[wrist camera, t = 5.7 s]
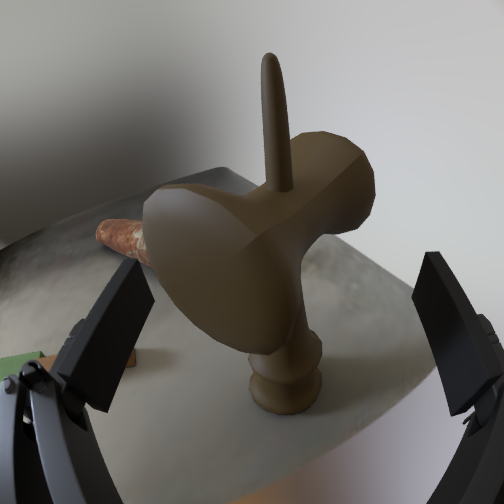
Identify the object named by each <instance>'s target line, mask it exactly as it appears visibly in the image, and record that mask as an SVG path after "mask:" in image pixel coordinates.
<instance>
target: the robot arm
mask: <svg viewBox="0 0 504 504" xmlns="http://www.w3.org/2000/svg"><path fill="white" fill-rule="evenodd" d="M411 298H412V300H413V302H414V305H415V307H416V310H417V312H418V315H419V317H420V320H421V322H422V325H423V328H424V330H425V333H426V336H427V338H428V341H429V344H430V347H431V350H432V353H433V356H434V359H435V362H436V365H437V368H438V371H439V374H440V378H441V381H442V384H443V388H444V392H445V395H446V399H447V403H448V407H449V411H450V415H451V416H455V415H458V414H461V413H465V412H467V410H468V409H470V408H471V407H472V406H473V405H474V408H475V411H474V412H473V413H472V414H471V415H470V416H469V417H467V418H466V419H465V420H464V422H463V424H466V423H467V422H468V421H469V420H470V421H469V423H468V425H467V428H466V430H465V433H464V435H463V437H462V440H461V442H460V444H459V446H458V448H457V450H456V453H455V455H454V457H453V459H452V460H451V462H450V464H449V466H448V468H447V470H446V472H445V474H444V475H443V477H442V479H441V481H440V482H439V484H438V486H437V488H436V489H435V491H434V492H433V494H432V496H431V498H430V499H429V501H428V502H427V503H426V504H504V349H503V347H502V345H501V343H499V339H498V337H497V335H496V334H495V331H494V329H493V327H492V325H491V323H490V321H489V320H488V319H487V318H486V317H485V316H484V315H483V314H478V315H477V314H476V312H475V310H474V308H473V307H472V305H471V303H470V301H469V299H468V298H467V296H466V294H465V292H464V291H463V289H462V287H461V286H460V284H459V282H458V280H457V279H456V277H455V275H454V274H453V272H452V271H451V269H450V268H449V266H448V264H447V263H446V261H445V260H444V258H443V257H442V255H441V254H440V252H438V251H437V252H425V256H424V259H423V263H422V266H421V269H420V273H419V276H418V279H417V282H416V285H415V288H414V291H413V294H412V297H411ZM154 302H155V300H154V298H153V295H152V293H151V291H150V288H149V286H148V283H147V281H146V278H145V276H144V273H143V271H142V268H141V265H140V263H139V260H138V259H124V261H123V262H122V263H121V265H120V266H119V268H118V269H117V271H116V272H115V274H114V275H113V277H112V278H111V280H110V281H109V283H108V284H107V286H106V287H105V289H104V290H103V292H102V293H101V295H100V296H99V298H98V300H97V301H96V303H95V304H94V306H93V308H92V309H91V311H90V312H89V314H88V316H87V317H86V319H81V320H80V321H79V322H78V323H77V324H76V325H75V326H74V327H73V329H72V331H71V332H70V334H69V337H68V338H67V339H66V341H65V343H64V345H63V346H62V348H61V350H60V351H59V353H58V355H57V357H56V359H55V360H54V362H53V364H52V366H51V368H50V370H49V371H47V370H46V369H45V368H44V367H43V366H42V365H41V364H40V363H39V362H38V361H37V360H33V359H32V360H29V361H27V362H26V363H24V364H23V365H22V367H21V368H20V370H19V372H18V377H17V376H16V375H15V374H10V375H8V376H7V377H5V378H4V380H3V381H2V383H1V386H0V504H123V502H122V500H121V498H120V496H119V494H118V492H117V489H116V487H115V485H114V483H113V481H112V478H111V476H110V474H109V472H108V469H107V467H106V464H105V462H104V459H103V457H102V454H101V451H100V449H99V446H98V443H97V440H96V437H95V435H94V432H93V428H92V425H91V422H90V419H89V416H88V412H87V410H86V408H85V407H84V406H85V403H86V402H87V403H88V404H89V405H90V406H91V407H92V408H93V409H96V410H99V411H102V412H106V413H108V410H109V408H110V405H111V402H112V400H113V397H114V395H115V392H116V390H117V387H118V385H119V382H120V380H121V377H122V375H123V372H124V370H125V367H126V365H127V362H128V360H129V358H130V355H131V353H132V351H133V348H134V346H135V344H136V341H137V339H138V337H139V335H140V332H141V330H142V328H143V326H144V324H145V321H146V319H147V317H148V315H149V313H150V310H151V308H152V306H153V304H154ZM23 415H24V416H25V417H27V418H28V423H25V422H24V421H23Z"/></svg>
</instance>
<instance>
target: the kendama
mask: <svg viewBox="0 0 504 504" xmlns="http://www.w3.org/2000/svg"><path fill="white" fill-rule="evenodd" d="M261 100H262V117H263V135H264V151H265V168H266V182H265V183H264V184H263V185H261V186H260V187H258V188H256V189H255V190H253V191H251V192H250V193H248V194H246V195H243V196H239V195H236V194H233V193H229V192H226V191H223V190H220V189H217V188H213V187H210V186H206V185H202V184H192V183H189V184H175V185H164V186H162V187H161V188H159V189H157V190H156V191H155V192H154V193H153V194H152V195H151V196H150V197H149V198H148V199H147V201H146V202H145V203H144V208H143V222H142V231H143V237H144V242H145V246H146V250H147V255H148V258H149V261H150V263H151V265H152V267H153V269H154V272H155V274H156V276H157V278H158V280H159V282H160V284H161V285H162V287H163V288H164V290H165V291H166V293H167V294H168V295H169V297H170V298H171V300H172V301H173V303H174V304H175V305H176V306H177V308H178V309H179V310H180V311H181V312H182V313H183V314H184V315H185V316H186V317H187V318H188V319H189V320H190V321H191V322H192V323H193V324H194V325H195V326H197V327H198V328H199V329H201V330H202V331H203V332H205V333H206V334H208V335H209V336H210V337H212V338H213V339H214V340H216V341H218V342H220V343H222V344H225V345H227V346H229V347H231V348H234V349H236V350H238V351H241V352H245V353H249V358H248V361H249V363H250V365H251V367H252V369H253V371H254V373H253V374H252V376H251V378H250V385H249V390H250V392H251V395H252V397H253V399H254V401H255V402H256V403H257V404H259V405H260V406H261V407H262V408H263V409H265V410H267V411H269V412H272V413H275V414H278V415H294V414H296V413H299V412H301V411H303V410H305V409H307V408H308V407H309V406H310V405H311V403H312V402H313V401H314V400H315V399H316V398H317V395H318V393H319V391H320V388H321V386H322V379H321V372H320V371H319V369H318V368H317V366H318V364H319V361H320V359H321V356H322V342H321V340H320V339H319V337H318V336H317V335H316V333H315V332H313V331H312V330H310V329H309V327H308V323H307V318H306V312H305V306H304V300H303V293H302V285H301V261H302V258H303V256H304V255H305V253H306V252H307V250H308V249H309V248H310V247H311V245H312V244H313V243H314V242H315V241H316V240H317V239H318V238H319V237H320V236H321V235H323V234H341V233H344V232H348V231H352V230H355V229H358V228H359V227H360V225H361V224H362V223H363V222H364V221H365V220H366V219H367V218H368V216H369V215H370V213H371V209H372V206H373V203H374V199H375V196H376V194H375V181H374V171H373V169H372V167H371V165H370V163H369V161H368V159H367V157H366V155H365V153H364V151H363V150H361V149H360V148H359V147H358V146H356V145H355V144H353V143H352V142H351V141H350V140H348V139H347V138H345V137H342V136H339V135H335V134H332V133H329V132H325V131H319V132H307V133H301V134H299V135H298V136H296V137H294V138H292V139H291V140H290V135H289V123H288V114H287V105H286V96H285V89H284V83H283V77H282V72H281V68H280V64H279V62H278V59H277V57H276V56H275V55H274V54H273V53H267V54H265V55H264V57H263V59H262V64H261Z"/></svg>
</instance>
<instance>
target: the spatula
mask: <svg viewBox="0 0 504 504" xmlns="http://www.w3.org/2000/svg"><path fill="white" fill-rule="evenodd" d="M56 357H57V355H53V356H48V357H44V354H43V353H42V352H41V351H38V352H32V353H27V354H22V355H17V356H11V357H6V358H1V359H0V386H1V383H2V381H3V380H4V378H5V377H7V376H8V375H10V374H15V375H16V376H17V377H18V372H19V370H20V368H21V367H22V365H23V364H24V363H26V362H27V361H29V360H32V359H33V360H37V361H38V362H39V363H40V364H41V365H42V366H43V367H44V368H45V369H46V370H47V371H49V370H50V368H51V366H52V364H53V362H54V360H55V359H56ZM135 365H136V362H135V348H133V351H132V353H131V355H130V358H129V360H128V362H127V365H126V367H130V366H135ZM126 367H125V368H126Z"/></svg>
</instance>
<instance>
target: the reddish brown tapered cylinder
mask: <svg viewBox="0 0 504 504" xmlns="http://www.w3.org/2000/svg"><path fill="white" fill-rule="evenodd" d="M142 222H143V221H137V220H126V219H107V220H104V221H102V222H101V223H100V224H99V226H98V228H97V231H96V238H97V241H98V242H100V243H101V244H104V245H106V246H108V247H110V248H111V249H113V250H115V251H117V252H119V253H121V254H123V255H126V256H128V257H130V258H133V259H138V260H139V262H141V263H143V264H145V265H147V266H148V267H151V268H153V267H152V265H151V263H150V261H149V258H148V255H147V250H146V246H145V242H144V237H143V231H142Z"/></svg>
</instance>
